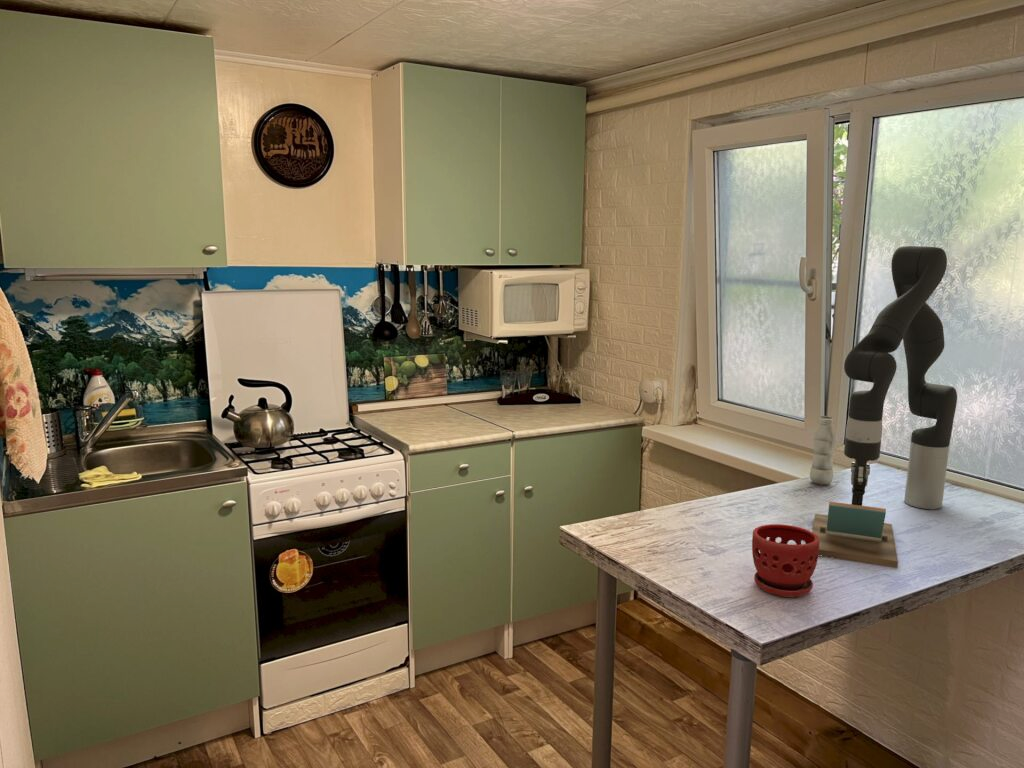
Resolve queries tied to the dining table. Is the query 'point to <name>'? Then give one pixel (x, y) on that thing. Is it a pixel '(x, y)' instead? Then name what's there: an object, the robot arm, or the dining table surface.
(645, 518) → the dining table surface
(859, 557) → the board
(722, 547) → the dining table surface
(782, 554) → the plant pot
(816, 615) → the dining table surface
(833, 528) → the tile
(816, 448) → the plastic bottle
